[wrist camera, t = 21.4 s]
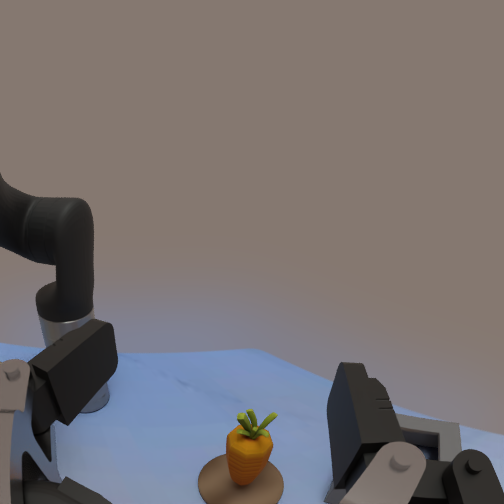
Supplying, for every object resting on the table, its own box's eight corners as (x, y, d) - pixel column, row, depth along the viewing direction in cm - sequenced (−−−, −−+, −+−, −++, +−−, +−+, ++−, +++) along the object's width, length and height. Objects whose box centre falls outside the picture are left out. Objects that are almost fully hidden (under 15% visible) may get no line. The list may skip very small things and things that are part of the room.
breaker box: (323, 501, 25) (336, 482, 24) (351, 428, 39) (361, 405, 38) (441, 517, 17) (463, 498, 16) (443, 445, 31) (458, 423, 30)
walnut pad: (181, 492, 26) (181, 489, 25) (226, 445, 35) (226, 442, 35) (259, 530, 21) (260, 528, 21) (295, 472, 30) (296, 470, 30)
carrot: (263, 473, 30) (284, 400, 26) (256, 501, 25) (278, 435, 21) (227, 466, 30) (236, 391, 27) (217, 493, 26) (223, 423, 22)
